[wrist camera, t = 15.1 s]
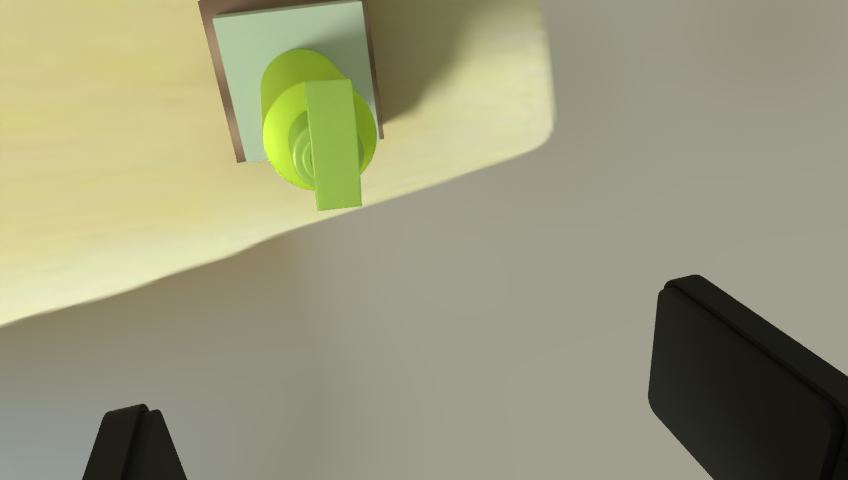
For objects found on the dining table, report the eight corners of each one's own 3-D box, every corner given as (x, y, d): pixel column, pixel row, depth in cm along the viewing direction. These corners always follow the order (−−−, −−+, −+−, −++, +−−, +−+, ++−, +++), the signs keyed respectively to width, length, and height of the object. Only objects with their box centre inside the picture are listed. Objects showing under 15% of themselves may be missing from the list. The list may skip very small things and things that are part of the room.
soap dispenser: (339, 31, 41) (403, 76, 23) (347, 128, 44) (409, 235, 26) (252, 35, 39) (250, 86, 22) (266, 135, 42) (274, 252, 25)
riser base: (202, -1, 45) (197, 1, 41) (356, -18, 47) (364, -18, 44) (238, 149, 50) (237, 162, 47) (375, 127, 52) (384, 138, 49)
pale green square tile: (215, 14, 42) (212, 18, 38) (353, -2, 44) (361, 1, 40) (247, 148, 46) (246, 163, 43) (370, 128, 48) (379, 141, 45)
